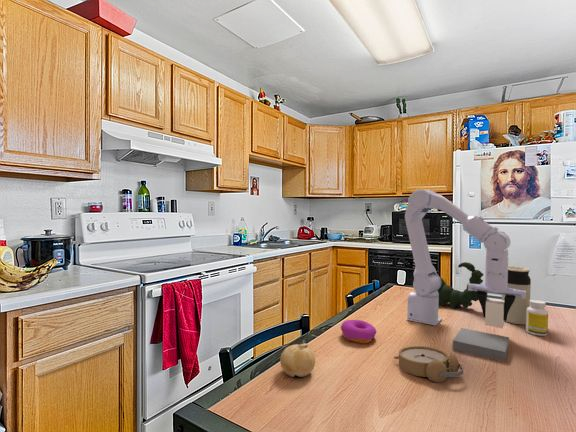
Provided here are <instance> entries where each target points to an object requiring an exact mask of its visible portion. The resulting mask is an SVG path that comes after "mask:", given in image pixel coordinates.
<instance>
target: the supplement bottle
mask: <svg viewBox="0 0 576 432" xmlns="http://www.w3.org/2000/svg"><path fill="white" fill-rule="evenodd" d="M546 304H547V302H545V301H543V300H539V299H538V300H537V299H530V307H528V308H527V312H526V324H525V332H527V333H528V334H531V335H533V336H540V337H543V336H544V337H545V336H547V335H548V329H549V328H548V325H549V324H548V323H549V311H548V310H547V309H546V307H547V305H546Z"/></svg>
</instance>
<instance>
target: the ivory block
mask: <svg viewBox="0 0 576 432" xmlns="http://www.w3.org/2000/svg"><path fill="white" fill-rule="evenodd" d="M484 318H485V319H484V326H489V327H494V328H499V329H503V328H504V327H505V321H504V301H502V299H494V298H488V297H487V301H486V312H485V317H484Z"/></svg>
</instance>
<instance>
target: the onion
mask: <svg viewBox="0 0 576 432" xmlns="http://www.w3.org/2000/svg"><path fill="white" fill-rule="evenodd" d="M279 363H280V367H281V369H282V370H283V372H284V373H285V374H286V375H287V376H289V377H291V378H296V376H297V377H298V378H299V377H300V378H304V377H307V376H308V375H309V374H310V373H312V371H313V370H314V367H315V365H316V357H315V354H314V353H313V351H312V350H311V348H309V344H308V343H305V340H304V339H303V340H302V343H300V344H297V343H296V344H295V343H294V344H292V345H289V346H286V347H285V349H284V350H283V351H282V352H281V354H280V357H279Z"/></svg>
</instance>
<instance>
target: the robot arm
mask: <svg viewBox="0 0 576 432" xmlns="http://www.w3.org/2000/svg"><path fill="white" fill-rule="evenodd" d="M407 202H408V203H407V206H406V210H405V213H404V221H405V225H406V230H407V235H408V239H409V243H410V248H411V252H412V257H413V261H414V266H415V267H414V271H413V274H412V275H413V278H414V279H413V281H412V287H413V290H414V291H415V292H414V291H410V292H409V293H408V297H407V314H406V315H407V316H406V317H407V318H406V321H407V320H408V321H410V322H415V323H419V324H420V323H421V324H426V325H431V326H434V327H435V326H436V327H437V325H438V324H439V323H440V322H441V320H442V317H439V305H440V304H439V293H438V289H439V288H440V287H441V279H440V277H441V276H440V277H439V274H438V273H437V270H436V268H435V266H434V265H433V264H432V259H431V255H430V251H429V246H428V241H427V236H426V233H425V232H426V231H425V228H424V224H423V218H424V217H425V216H426V214H427V213H428V212H429V211H430V210H431V211H432V210H433V209H434V210H440V211H442V212H443V213H445V214H446V215H448V216H449V217H451V218H452V219H454V220H456V221H458V223H461V226H462V230H463V231H464V232H466V233H467V234H468V235H470V236H472V237H473V238H474V239H475V240H477V242H479V243H480V244H481V243H482V244H483V246H484V248H485V249H486V255H485V268H484V269H485V270H484V271H485V272H484V273H485V275H484V276H485V277H484V284H483V283H481V284H470V282H469V284H468V283H467V285H468V291H477V294H476V296H477V298H478V302H479V304H480V307H481V310H482V316H483V318H485V312H486V301H487V299H488V294H494V295H500V296H502V295H506V296H505V298H504V322H506V320H507V315H508V312H509V309H510V307H511V306H512V304H513V302H514V301H515V298H516V297H520V298H523V299H525V297H526V291H524V290H518V289H513V288H507V283H508V266H509V249H508V248H509V247H510V246H511V239H510V237H509V235H508V234H506V232H504V231H499V228H498V227H496V226H495V227H494V226H492V225H491V224H490V223H488V222H487V221H486V220H485V217H483V216H478V215H469V214H467V213H466V212H465V211H463V210H462V209H461V208H459V206H457V205H456V204H454V203H453V202H452V201H450V200H449V199H447V198H446V197H444V196H443V195H441V194H439V193H437V192H436V191H435V190H432V189H430V190H429V189H423V188H419V189H415V190H414V191H413V192H411V194H410V195H409V197H408V198H407Z"/></svg>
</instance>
